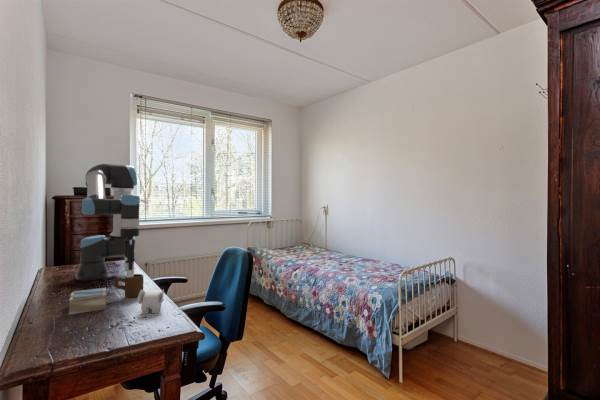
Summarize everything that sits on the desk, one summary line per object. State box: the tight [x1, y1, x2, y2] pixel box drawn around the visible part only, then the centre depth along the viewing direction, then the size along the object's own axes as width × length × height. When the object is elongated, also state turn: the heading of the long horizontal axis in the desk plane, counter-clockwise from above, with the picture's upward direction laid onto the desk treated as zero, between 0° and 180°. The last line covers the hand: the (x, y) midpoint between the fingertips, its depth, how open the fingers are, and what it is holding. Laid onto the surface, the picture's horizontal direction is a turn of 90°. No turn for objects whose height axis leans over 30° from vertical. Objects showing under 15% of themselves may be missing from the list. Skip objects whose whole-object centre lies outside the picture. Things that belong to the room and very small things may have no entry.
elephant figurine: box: [136, 288, 165, 315], centre depth 124 cm, size 10×12×9 cm
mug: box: [113, 273, 144, 299], centre depth 140 cm, size 12×8×9 cm, turn 119°
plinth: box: [68, 287, 107, 315], centre depth 126 cm, size 12×12×6 cm
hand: (129, 274), depth 140 cm, fingers open, 13 cm apart
